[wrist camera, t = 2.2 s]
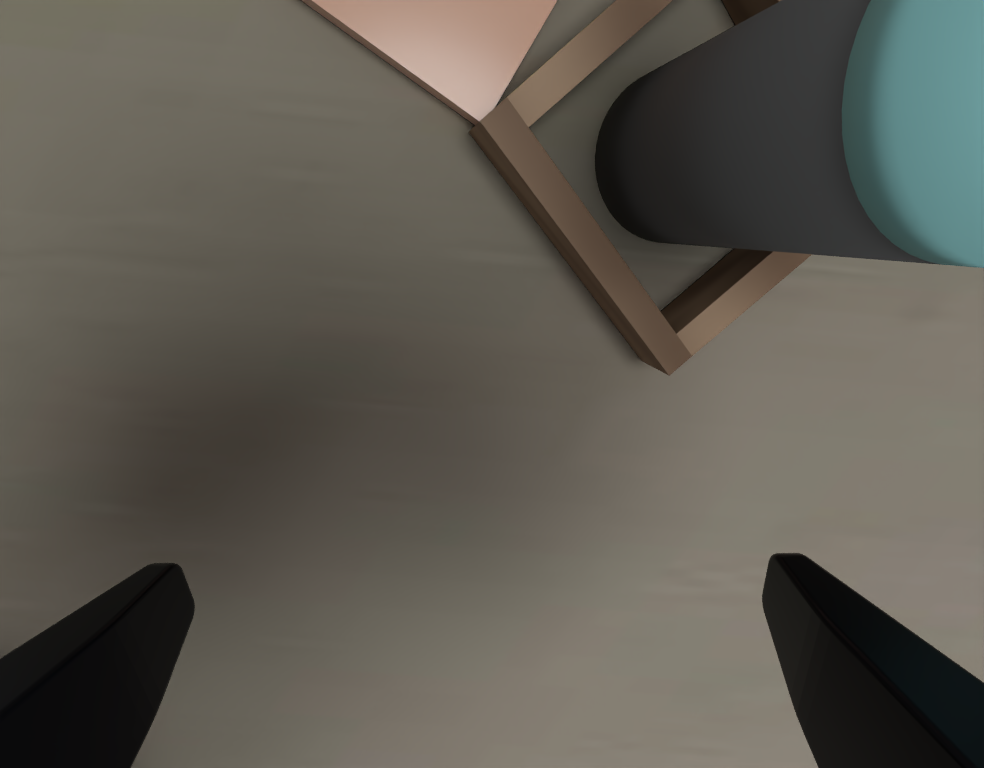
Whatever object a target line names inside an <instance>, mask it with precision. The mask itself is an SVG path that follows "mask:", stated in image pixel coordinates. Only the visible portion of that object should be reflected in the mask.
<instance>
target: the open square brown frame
mask: <svg viewBox="0 0 984 768" xmlns="http://www.w3.org/2000/svg"><path fill="white" fill-rule="evenodd" d="M671 1H673V0H616V1H615V2H614V3H613V4H611V5H610V6H609V7H608V8H607V9H606V10H605V11H603V12H602V13H601V14H600V15H599V16H598V17H597V18H596V19H594V20H593V21H592V22H591V23H590V24H589V25H588V26H587V27H585V28H584V29H583V30H582V31H581V32H580V33H579V34H578V35H576V36H575V37H574V38H573V39H572V40H571V41H570V42H568V43H567V44H566V45H565V46H564V47H563V48H562V49H561V50H559V51H558V52H557V53H556V54H555V55H554V56H553V57H552V58H550V59H549V60H548V61H547V62H546V63H545V64H544V65H542V66H541V67H540V68H539V69H538V70H537V71H536V72H535V73H533V74H532V75H531V76H530V77H529V78H528V79H527V80H526V81H524V82H523V83H522V84H521V85H520V86H519V87H518V88H517V89H515V90H514V91H513V92H512V93H511V94H510V95H509V96H507V97H506V98H505V99H504V100H503V101H502V102H501V103H500V104H498V105H497V106H496V107H495V108H494V109H493V110H492V111H491V112H489V113H488V114H487V115H486V116H485V117H484V118H483V119H481V120H480V121H479V122H478V123H477V124H476V125H475V126H474V127H473V128H472V129H471V130H470V131H469V133H470V134H471V136H472V137H473V138H474V140H475V141H476V142H477V144H478V145H479V146H480V148H481V149H482V150H483V152H484V153H485V154H486V156H487V157H488V158H489V160H490V161H491V162H492V164H493V165H494V166H495V168H496V169H497V170H498V172H499V173H500V174H501V175H502V177H503V178H504V179H505V181H506V182H507V183H508V185H509V186H510V187H511V189H512V190H513V191H514V193H515V194H516V195H517V197H518V198H519V199H520V201H521V202H522V203H523V205H524V206H525V207H526V209H527V210H528V211H529V213H530V214H531V215H532V216H533V218H534V219H535V220H536V222H537V223H538V224H539V226H540V227H541V228H542V230H543V231H544V232H545V234H546V235H547V236H548V238H549V239H550V240H551V242H552V243H553V244H554V246H555V247H556V248H557V250H558V251H559V252H560V254H561V255H562V256H563V257H564V259H565V260H566V261H567V263H568V264H569V265H570V267H571V268H572V269H573V271H574V272H575V273H576V275H577V276H578V277H579V279H580V280H581V281H582V283H583V284H584V285H585V287H586V288H587V289H588V291H589V292H590V293H591V294H592V296H593V297H594V298H595V300H596V301H597V302H598V304H599V305H600V306H601V308H602V309H603V310H604V312H605V313H606V314H607V316H608V317H609V318H610V320H611V321H612V322H613V324H614V325H615V326H616V328H617V329H618V330H619V332H620V333H621V334H622V335H623V337H624V338H625V339H626V341H627V342H628V343H629V345H630V346H631V347H632V349H633V350H634V351H635V353H636V354H637V355H638V357H639V358H640V359H641V361H643V362H645V363H647V364H649V365H651V366H652V367H654V368H656V369H658V370H660V371H662V372H664V373H665V374H667V375H670V374H672V373H673V372H674V371H675V370H676V369H678V368H679V367H680V366H681V365H682V364H683V363H685V362H686V361H687V360H688V359H689V358H691V357H692V356H693V355H694V354H695V353H696V352H698V351H699V350H700V349H701V348H702V347H703V346H705V345H706V344H707V343H708V342H709V341H711V340H712V339H713V338H714V337H715V336H716V335H718V334H719V333H720V332H721V331H722V330H723V329H725V328H726V327H727V326H728V325H729V324H731V323H732V322H733V321H734V320H735V319H736V318H738V317H739V316H740V315H741V314H742V313H744V312H745V311H746V310H747V309H748V308H749V307H751V306H752V305H753V304H754V303H755V302H756V301H758V300H759V299H760V298H761V297H762V296H764V295H765V294H766V293H767V292H768V291H769V290H771V289H772V288H773V287H774V286H775V285H776V284H778V283H779V282H780V281H781V280H782V279H784V278H785V277H786V276H787V275H788V274H789V273H791V272H792V271H793V270H794V269H795V268H797V267H798V266H799V265H800V264H801V263H802V262H804V261H805V260H806V259H807V258H808V257H809V256H811V255H812V254H801V253H788V252H775V251H763V250H750V249H737V248H735V249H733V250H732V251H731V252H730V253H729V254H727V255H726V256H725V257H724V258H723V259H722V260H720V261H719V262H718V263H717V264H716V265H715V266H713V267H712V268H711V269H710V270H709V271H708V272H706V273H705V274H704V275H703V276H702V277H701V278H699V279H698V280H697V281H696V282H695V283H694V284H692V285H691V286H690V287H689V288H688V289H687V290H685V291H684V292H683V293H682V294H681V295H680V296H678V297H677V298H676V299H675V300H674V301H673V302H671V303H670V304H669V305H668V306H667V307H666V308H664V309H663V310H662V311H661V312H660V310H659V309H658V308H657V306H656V305H655V303H654V302H653V301H652V299H651V298H650V296H649V295H648V294H647V292H646V291H645V289H644V288H643V287H642V285H641V284H640V282H639V281H638V280H637V278H636V277H635V275H634V274H633V273H632V271H631V270H630V268H629V267H628V266H627V264H626V263H625V261H624V260H623V259H622V257H621V256H620V254H619V253H618V252H617V250H616V249H615V247H614V246H613V245H612V243H611V242H610V240H609V239H608V238H607V236H606V235H605V233H604V232H603V231H602V229H601V228H600V226H599V225H598V224H597V222H596V221H595V219H594V218H593V217H592V215H591V214H590V212H589V211H588V210H587V208H586V207H585V206H584V204H583V203H582V201H581V200H580V199H579V197H578V196H577V194H576V193H575V192H574V190H573V189H572V187H571V186H570V185H569V183H568V182H567V180H566V179H565V178H564V176H563V175H562V173H561V172H560V171H559V169H558V168H557V166H556V165H555V164H554V162H553V161H552V159H551V158H550V157H549V155H548V154H547V152H546V151H545V150H544V148H543V147H542V145H541V144H540V143H539V141H538V140H537V138H536V137H535V136H534V134H533V133H532V131H531V130H530V129H529V127H530V126H531V125H532V124H533V123H534V122H535V121H536V120H538V119H539V118H540V117H541V116H542V115H543V114H544V113H545V112H547V111H548V110H549V109H550V108H551V107H552V106H553V105H555V104H556V103H557V102H558V101H559V100H560V99H561V98H563V97H564V96H565V95H566V94H567V93H568V92H569V91H570V90H572V89H573V88H574V87H575V86H576V85H577V84H578V83H580V82H581V81H582V80H583V79H584V78H585V77H586V76H587V75H589V74H590V73H591V72H592V71H593V70H594V69H595V68H597V67H598V66H599V65H600V64H601V63H602V62H603V61H605V60H606V59H607V58H608V57H609V56H610V55H611V54H612V53H614V52H615V51H616V50H617V49H618V48H619V47H620V46H622V45H623V44H624V43H625V42H626V41H627V40H628V39H629V38H631V37H632V36H633V35H634V34H635V33H636V32H637V31H639V30H640V29H641V28H642V27H643V26H644V25H645V24H647V23H648V22H649V21H650V20H651V19H652V18H653V17H654V16H656V15H657V14H658V13H659V12H660V11H661V10H662V9H664V8H665V7H666V6H667V5H668V4H669V3H670V2H671ZM780 1H781V0H722V2H723V3H724V5H725V7H726V9H727V11H728V12H729V14H730V16H731V18H732V20H733V22H734V23H735V25H738V24H739V23H741V22H743V21H745V20H747V19H749V18H750V17H752V16H754V15H756V14H758V13H759V12H761V11H763V10H765V9H767V8H769V7H770V6H772V5H774V4H776V3H778V2H780Z"/></svg>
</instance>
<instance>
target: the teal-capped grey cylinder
mask: <svg viewBox="0 0 984 768" xmlns="http://www.w3.org/2000/svg"><path fill="white" fill-rule="evenodd" d="M595 169H596V176H597V182H598V186H599V190H600V193H601V195H602V198H603V200H604V202H605V204H606V206H607V208H608V209H609V211H610V212H611V214H612V215H613V216H614V218H615V219H616V220H617V221H618V222H619V223H620V224H621V225H622V226H623V227H624V228H626V229H627V230H628V231H630V232H631V233H633V234H635V235H637V236H638V237H641V238H643V239H646V240H649V241H654V242H660V243H673V244H686V245H699V246H711V247H724V248H737V249H750V250H763V251H775V252H788V253H801V254H814V255H827V256H839V257H852V258H865V259H878V260H891V261H903V262H916V263H929V264H942V265H955V266H967V267H980V268H984V0H781V1H780V2H778V3H776V4H774V5H772V6H770V7H769V8H767V9H765V10H763V11H761V12H759V13H758V14H756V15H754V16H752V17H750V18H749V19H747V20H745V21H743V22H741V23H739V24H738V25H736V26H734V27H732V28H730V29H728V30H727V31H725V32H723V33H721V34H719V35H717V36H716V37H714V38H712V39H710V40H708V41H707V42H705V43H703V44H701V45H699V46H697V47H696V48H694V49H692V50H690V51H688V52H686V53H685V54H683V55H681V56H679V57H677V58H675V59H674V60H672V61H670V62H668V63H666V64H665V65H663V66H661V67H659V68H657V69H655V70H654V71H652V72H650V73H648V74H646V75H644V76H643V77H641V78H639V79H638V80H636V81H635V82H633V83H632V84H631V85H630V86H628V87H627V88H626V89H625V90H624V91H623V92H622V93H621V94H620V96H619V97H618V98H617V99H616V100H615V102H614V103H613V105H612V106H611V108H610V109H609V111H608V113H607V115H606V117H605V119H604V121H603V123H602V126H601V129H600V132H599V136H598V140H597V145H596V155H595Z"/></svg>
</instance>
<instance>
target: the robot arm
mask: <svg viewBox="0 0 984 768" xmlns="http://www.w3.org/2000/svg"><path fill="white" fill-rule="evenodd" d="M762 603H763V609H764V613H765V616H766V620H767V623H768V626H769V629H770V632H771V636H772V639H773V642H774V645H775V649H776V652H777V655H778V658H779V662H780V665H781V668H782V671H783V675H784V678H785V681H786V684H787V687H788V691H789V694H790V697H791V700H792V703H793V706H794V709H795V712H796V715H797V717H798V720H799V722H800V725H801V727H802V730H803V732H804V735H805V737H806V740H807V742H808V744H809V747H810V749H811V751H812V754H813V756H814V758H815V761H816V763H817V765H818V768H984V683H983V682H982V681H981V680H979V679H978V678H976V677H975V676H974V675H972V674H971V673H969V672H968V671H967V670H965V669H964V668H962V667H961V666H960V665H958V664H957V663H955V662H954V661H953V660H951V659H950V658H948V657H947V656H946V655H944V654H943V653H941V652H940V651H939V650H937V649H936V648H934V647H933V646H931V645H930V644H929V643H927V642H926V641H924V640H923V639H922V638H920V637H919V636H917V635H916V634H915V633H913V632H912V631H910V630H909V629H908V628H906V627H905V626H903V625H902V624H901V623H899V622H898V621H896V620H895V619H894V618H892V617H891V616H889V615H888V614H887V613H885V612H884V611H882V610H881V609H880V608H878V607H877V606H875V605H874V604H873V603H871V602H870V601H868V600H867V599H865V598H864V597H863V596H861V595H860V594H858V593H857V592H856V591H854V590H853V589H851V588H850V587H849V586H847V585H846V584H844V583H843V582H842V581H840V580H839V579H837V578H836V577H835V576H833V575H832V574H830V573H829V572H828V571H826V570H825V569H823V568H822V567H821V566H819V565H818V564H816V563H815V562H814V561H812V560H811V559H809V558H808V557H806V556H805V555H803V554H800V553H776V554H773V555H772V556H771V557H770V560H769V563H768V568H767V573H766V578H765V583H764V588H763V594H762ZM194 609H195V605H194V599H193V596H192V594H191V591H190V589H189V586H188V583H187V581H186V578H185V575H184V573H183V570H182V568H181V567H180V566H179V565H178V564H175V563H154V564H150V565H147V566H146V567H144V568H142V569H141V570H139V571H138V572H136V573H134V574H133V575H131V576H130V577H128V578H127V579H125V580H123V581H122V582H120V583H119V584H117V585H116V586H114V587H112V588H111V589H109V590H108V591H106V592H105V593H103V594H101V595H100V596H98V597H97V598H95V599H94V600H92V601H90V602H89V603H87V604H86V605H84V606H82V607H81V608H79V609H78V610H76V611H75V612H73V613H71V614H70V615H68V616H67V617H65V618H64V619H62V620H60V621H59V622H57V623H56V624H54V625H53V626H51V627H49V628H48V629H46V630H45V631H43V632H42V633H40V634H38V635H37V636H35V637H34V638H32V639H31V640H29V641H27V642H26V643H24V644H23V645H21V646H20V647H18V648H16V649H15V650H13V651H12V652H10V653H8V654H7V655H5V656H4V657H2V658H1V659H0V768H131V766H132V764H133V762H134V760H135V758H136V756H137V754H138V752H139V750H140V748H141V745H142V743H143V741H144V739H145V737H146V735H147V733H148V731H149V729H150V727H151V724H152V722H153V720H154V718H155V716H156V713H157V711H158V709H159V706H160V704H161V701H162V699H163V696H164V694H165V691H166V688H167V686H168V683H169V680H170V678H171V675H172V672H173V670H174V667H175V664H176V662H177V659H178V656H179V654H180V651H181V648H182V646H183V643H184V640H185V638H186V635H187V632H188V630H189V627H190V624H191V622H192V619H193V615H194Z"/></svg>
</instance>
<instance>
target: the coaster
mask: <svg viewBox="0 0 984 768" xmlns="http://www.w3.org/2000/svg"><path fill="white" fill-rule="evenodd" d="M301 1H303V2H304V3H305V4H307V5H308V6H310V7H311V8H312V9H314V10H315V11H317V12H318V13H319V14H321V15H322V16H324V17H325V18H326V19H328V20H329V21H331V22H332V23H333V24H335V25H336V26H337V27H339V28H340V29H342V30H343V31H344V32H346V33H347V34H349V35H350V36H351V37H353V38H354V39H356V40H357V41H358V42H360V43H361V44H363V45H364V46H365V47H367V48H368V49H370V50H371V51H372V52H374V53H375V54H376V55H378V56H379V57H381V58H382V59H383V60H385V61H386V62H388V63H389V64H390V65H392V66H393V67H395V68H396V69H397V70H399V71H400V72H402V73H403V74H404V75H406V76H407V77H409V78H410V79H411V80H413V81H414V82H416V83H417V84H418V85H420V86H421V87H422V88H424V89H425V90H427V91H428V92H429V93H431V94H432V95H434V96H435V97H436V98H438V99H439V100H441V101H442V102H443V103H445V104H446V105H448V106H449V107H450V108H452V109H453V110H455V111H456V112H457V113H459V114H460V115H461V116H463V117H464V118H466V119H467V120H468V121H470V122H471V123H473V124H474V125H476V124H477V123H478V122H479V121H480V120H481V119H483V118H484V117H485V116H486V115H487V114H488V113H489V112H491V111H492V110H493V109H494V108H495V106H496V105H497V103H498V101H499V99H500V98H501V96H502V94H503V93H504V91H505V89H506V87H507V86H508V84H509V82H510V81H511V79H512V77H513V75H514V74H515V72H516V70H517V69H518V67H519V65H520V63H521V62H522V60H523V58H524V57H525V55H526V53H527V51H528V50H529V48H530V46H531V45H532V43H533V41H534V39H535V38H536V36H537V34H538V33H539V31H540V29H541V27H542V26H543V24H544V22H545V21H546V19H547V17H548V15H549V14H550V12H551V10H552V9H553V7H554V5H555V3H556V2H557V0H301Z"/></svg>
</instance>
